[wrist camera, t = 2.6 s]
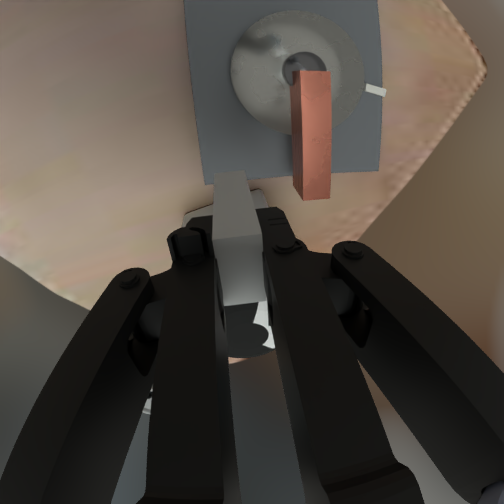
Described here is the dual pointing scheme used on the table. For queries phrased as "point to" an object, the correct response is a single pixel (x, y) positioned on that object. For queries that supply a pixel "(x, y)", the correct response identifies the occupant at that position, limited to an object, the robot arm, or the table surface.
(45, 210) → the table surface
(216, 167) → the plate
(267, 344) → the container
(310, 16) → the dial
